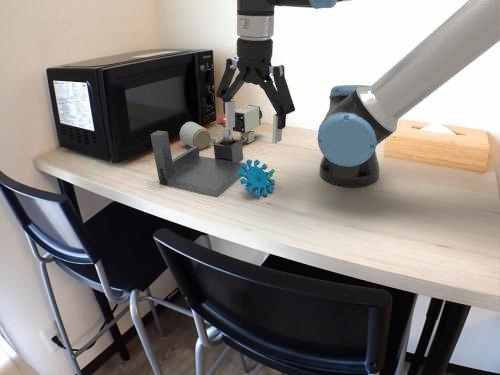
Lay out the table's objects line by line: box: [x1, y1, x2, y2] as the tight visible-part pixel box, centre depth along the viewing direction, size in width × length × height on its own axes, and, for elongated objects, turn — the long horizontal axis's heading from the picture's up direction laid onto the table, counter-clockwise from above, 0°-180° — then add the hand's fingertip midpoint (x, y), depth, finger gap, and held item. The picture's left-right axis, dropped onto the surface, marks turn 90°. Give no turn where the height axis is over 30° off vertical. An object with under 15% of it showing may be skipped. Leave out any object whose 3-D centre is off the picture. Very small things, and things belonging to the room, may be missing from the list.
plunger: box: [216, 113, 234, 146], centre depth 105 cm, size 5×5×9 cm
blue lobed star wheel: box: [238, 159, 276, 198], centre depth 92 cm, size 11×6×10 cm
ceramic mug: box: [179, 121, 217, 150], centre depth 120 cm, size 11×8×8 cm
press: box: [150, 130, 248, 198], centre depth 100 cm, size 18×22×14 cm
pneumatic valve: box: [232, 104, 263, 145], centre depth 120 cm, size 6×12×12 cm, turn 142°
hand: (252, 134), depth 86 cm, fingers open, 13 cm apart
